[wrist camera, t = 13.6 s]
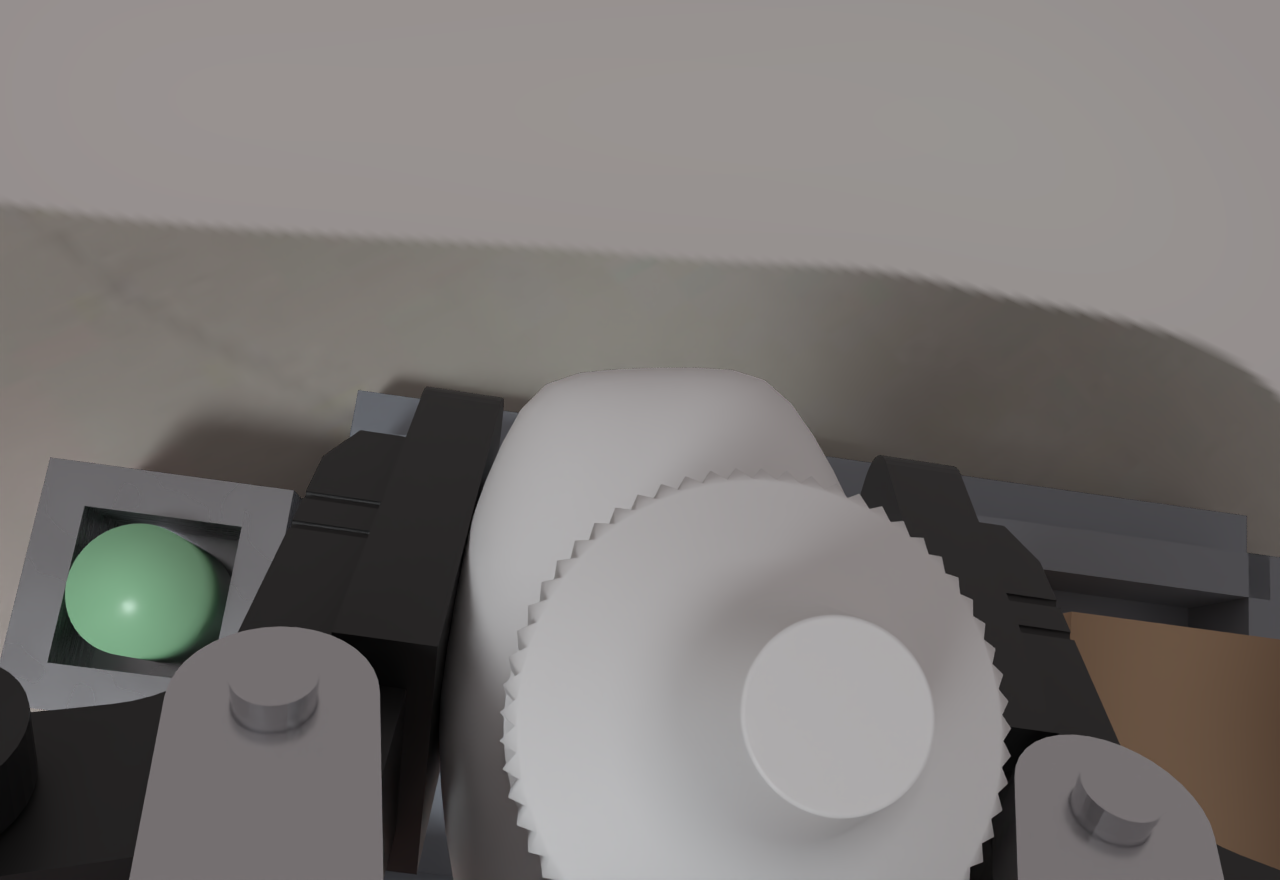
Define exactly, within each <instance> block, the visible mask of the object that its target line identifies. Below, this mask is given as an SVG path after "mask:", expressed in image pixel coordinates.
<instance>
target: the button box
mask: <svg viewBox="0 0 1280 880" xmlns="http://www.w3.org/2000/svg"><path fill="white" fill-rule="evenodd" d="M301 501H302V499H301V498H300V497H299V495H298V494H297V493H296V492H295V491H294V490H287V489H279V488H272V487H265V486H257V485H250V484H243V483H235V482H228V481H220V480H213V479H206V478H198V477H191V476H183V475H176V474H169V473H161V472H154V471H147V470H139V469H132V468H124V467H117V466H110V465H102V464H95V463H87V462H80V461H73V460H65V459H58V458H51V457H50V461H49V465H48V469H47V473H46V477H45V481H44V485H43V489H42V493H41V497H40V501H39V505H38V509H37V513H36V518H35V522H34V526H33V530H32V534H31V538H30V542H29V546H28V550H27V554H26V558H25V562H24V566H23V570H22V574H21V578H20V582H19V586H18V590H17V594H16V598H15V602H14V606H13V610H12V614H11V618H10V623H9V627H8V631H7V635H6V639H5V643H4V647H3V651H2V655H1V659H0V667H1V668H3V669H5V670H6V671H8V672H9V673H10V674H12V675H13V676H14V677H15V678H16V679H17V680H18V681H19V682H20V684H21V685H22V687H23V689H24V690H25V692H26V694H27V698H28V701H29V705H30V708H36V709H44V710H58V709H68V708H77V707H87V706H97V705H106V704H114V703H121V702H128V701H133V700H137V699H141V698H145V697H149V696H153V695H156V694H159V693H162V692H164V691H166V690H167V687H168V684H169V682H170V680H171V679H172V677H173V675H174V674H175V672H176V671H177V670H178V668H179V667H180V666H181V665H182V664H183V663H184V662H185V661H184V662H179V663H159V662H153V661H148V660H142V659H137V658H131V657H126V656H120V655H115V654H110V653H107V652H104V651H102V650H100V649H98V648H96V647H94V646H92V645H91V644H89V643H88V642H87V641H86V640H85V639H83V638H82V637H81V636H80V634H79V633H78V632H77V631H76V629H75V628H74V626H73V624H72V623H71V620H70V618H69V615H68V612H67V608H66V602H65V588H66V582H67V578H68V575H69V571H70V569H71V567H72V565H73V563H74V561H75V560H76V558H77V556H78V555H79V554H80V553H81V551H82V550H83V549H84V548H85V547H86V546H87V545H88V544H89V543H90V542H91V541H92V540H94V539H95V538H96V537H98V536H99V535H101V534H103V533H104V532H106V531H109V530H111V529H113V528H116V527H119V526H123V525H128V524H151V525H156V526H159V527H162V528H165V529H167V530H169V531H171V532H173V533H175V534H177V535H179V536H180V537H182V538H184V539H186V540H187V541H189V542H191V543H193V544H194V545H196V546H198V547H200V548H201V549H203V550H205V551H207V552H208V553H210V554H211V555H213V556H214V557H215V558H217V559H218V560H219V561H220V562H221V563H222V565H223V566H224V567H225V569H226V570H227V572H228V573H229V576H230V578H231V582H230V587H229V592H228V597H227V601H226V606H225V611H224V616H223V621H222V626H221V631H220V636H219V639H221V638H223V637H226V636H228V635H232V634H235V633H238V631H239V629H240V627H241V624H242V622H243V620H244V618H245V616H246V614H247V612H248V610H249V608H250V606H251V604H252V602H253V600H254V598H255V596H256V594H257V592H258V589H259V587H260V585H261V583H262V581H263V579H264V577H265V575H266V573H267V571H268V569H269V567H270V565H271V563H272V561H273V559H274V556H275V554H276V552H277V550H278V548H279V546H280V544H281V542H282V540H283V538H284V536H285V534H286V532H287V530H288V528H289V527H290V528H291V526H292V519H293V517H294V515H295V513H296V511H297V509H298V507H299V505H300V503H301Z"/></svg>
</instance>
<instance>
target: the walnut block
mask: <svg viewBox="0 0 1280 880" xmlns="http://www.w3.org/2000/svg"><path fill="white" fill-rule="evenodd" d="M1063 615H1064V618H1065V620H1066V622H1067V625H1068V627H1069V629H1070V631H1071V633H1070V640H1075V643H1076V645H1077V647H1078V650H1079V652H1080V654H1081V656H1082V659H1083V661H1084V663H1085V666H1086V668H1087V670H1088V672H1089V675H1090V677H1091V679H1092V682H1093V684H1094V686H1095V688H1096V691H1097V693H1098V695H1099V698H1100V700H1101V702H1102V704H1103V707H1104V709H1105V711H1106V713H1107V716H1108V718H1109V720H1110V723H1111V725H1112V727H1113V729H1114V732H1115V734H1116V736H1117V739H1118V741H1119V743H1120V745H1121V746H1123V747H1125V748H1128V749H1130V750H1132V751H1134V752H1136V753H1138V754H1140V755H1142V756H1143V757H1145V758H1147V759H1149V760H1150V761H1152V762H1154V763H1155V764H1157V765H1158V766H1159V767H1161V768H1162V769H1164V770H1165V771H1167V772H1168V773H1169V774H1170V775H1171V776H1173V777H1174V778H1175V779H1176V780H1177V781H1178V782H1180V783H1181V784H1182V785H1183V786H1184V787H1185V788H1186V790H1187V791H1188V792H1189V793H1190V794H1191V795H1192V796H1193V797H1194V798H1195V800H1196V801H1197V802H1198V804H1199V805H1200V807H1201V808H1202V809H1203V811H1204V813H1205V815H1206V817H1207V818H1208V820H1209V822H1210V824H1211V827H1212V830H1213V833H1214V836H1215V841H1216V844H1218V845H1219V846H1221V847H1223V848H1225V849H1228V850H1230V851H1232V852H1235V853H1237V854H1239V855H1242V856H1244V857H1247V858H1249V859H1252V860H1255V861H1257V862H1260V863H1263V864H1265V865H1268V866H1270V867H1273V868H1276V869H1278V870H1280V639H1272V638H1265V637H1257V636H1250V635H1242V634H1235V633H1228V632H1220V631H1213V630H1205V629H1198V628H1190V627H1183V626H1175V625H1168V624H1161V623H1153V622H1146V621H1138V620H1131V619H1123V618H1116V617H1109V616H1101V615H1094V614H1086V613H1079V612H1067V613H1063Z"/></svg>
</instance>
